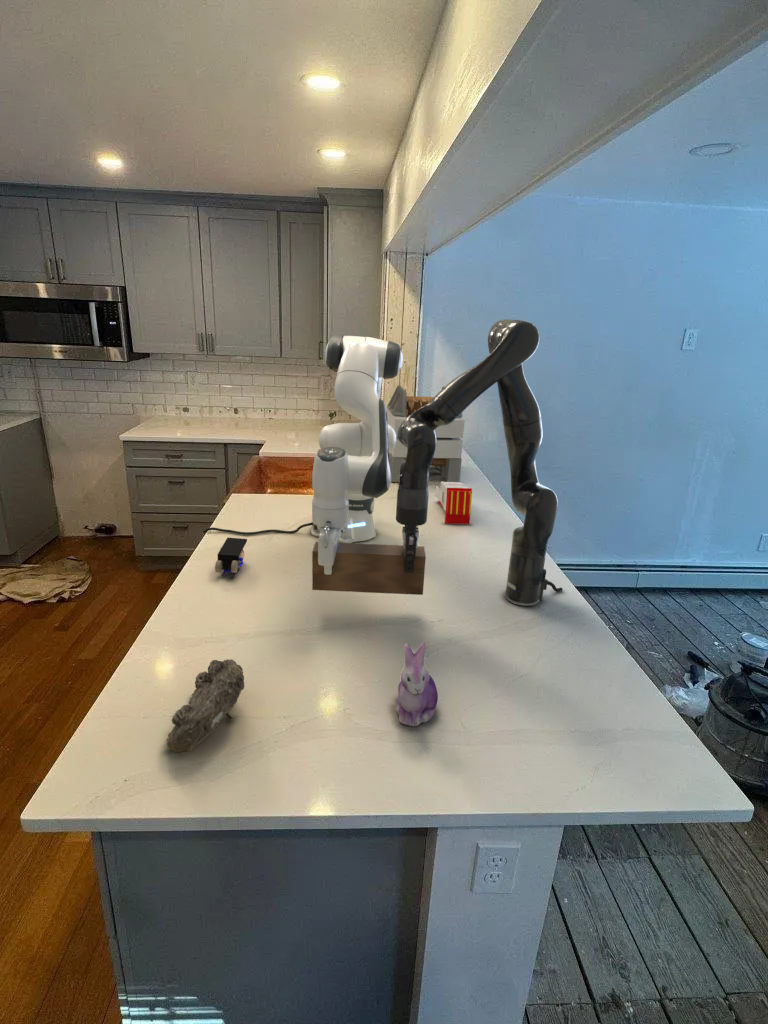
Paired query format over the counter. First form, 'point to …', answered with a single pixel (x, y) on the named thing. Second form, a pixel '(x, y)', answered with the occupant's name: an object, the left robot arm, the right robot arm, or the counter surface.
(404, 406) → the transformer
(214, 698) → the fossil
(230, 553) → the black wheeled vehicle
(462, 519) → the toy
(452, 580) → the counter surface
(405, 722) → the figurine
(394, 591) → the box
